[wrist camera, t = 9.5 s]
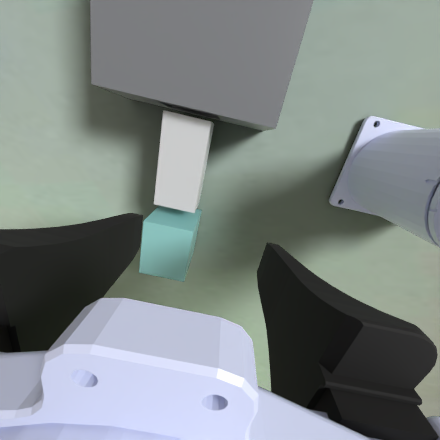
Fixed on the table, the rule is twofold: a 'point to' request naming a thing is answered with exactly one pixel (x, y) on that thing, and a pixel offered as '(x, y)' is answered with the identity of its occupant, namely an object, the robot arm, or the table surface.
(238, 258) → the table surface
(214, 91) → the grey block
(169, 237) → the plug
